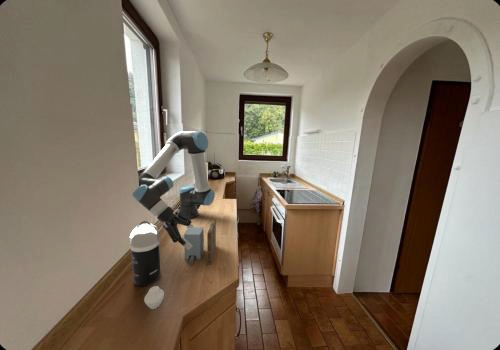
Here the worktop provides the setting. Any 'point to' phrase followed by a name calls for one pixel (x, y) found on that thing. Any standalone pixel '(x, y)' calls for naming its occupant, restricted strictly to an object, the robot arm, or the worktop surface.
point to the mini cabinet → (195, 241)
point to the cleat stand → (209, 243)
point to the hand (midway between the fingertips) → (194, 240)
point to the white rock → (154, 297)
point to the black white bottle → (145, 253)
